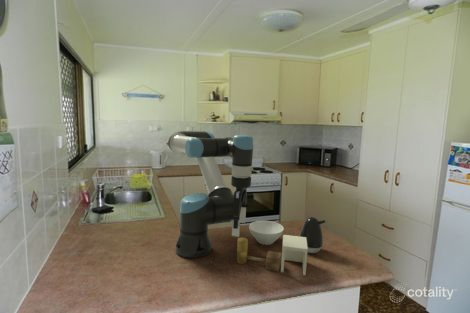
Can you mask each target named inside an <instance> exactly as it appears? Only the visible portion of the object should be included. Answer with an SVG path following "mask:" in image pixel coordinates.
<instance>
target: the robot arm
mask: <svg viewBox="0 0 470 313" xmlns="http://www.w3.org/2000/svg"><path fill="white" fill-rule="evenodd" d="M167 145H168V148H169V149H170V150H171V151H172V152H174V153H176V154H181V155H182V154H184V155H185V154H186V156H187V157H188V158H190V159H191V158H192V159H194V160H196V161H197V162H198V166H199V169H200V171H201V174H202V175H201V176H202V177H203V180H204V183H205V184H204V185H205V186H206V189H207V193H208V194H206V193H203V192H201V193H199V192H197V193H191V194H187V195H186V196H184V197H183V198H181V200H180V203H179V204H180V206H179V233H178V237H177V240H176V242H175V246H174V247H175V249H174V250H175V251H174V252H175V253H176V254H177V256H180V257H182V258H187V259H197V258H202V257H205V256H207V255H208V254H210V253H211V251H212V242H211V241H212V240H211V238H210V236H209V229H208V228H209V225H215V224H216V225H217V224H218V225H219V224H223V223H231V222H232V224H231V225H232V226H231V237H238V238H240V230H241V227H240V226H241V224H245V223H246V215H247V208H248V207H249V204H248V196H247V195H248V194H247V191H248V190H247V188H250V187H251V185H252V177H251V176H252V171H254V167H253V154H254V137H253V136H252V135H246V134H235V135H234V136H233V137H231V136H230V137H227V136H226V137H223V138H222V137H215V136H214V134H213V133H212V132H210V131H205V130H202V131H191V130H190V131H188V130H187V131H185V130H181V131H177V132H175V133H173V134H172V135H170V136H169V138H168V144H167ZM223 157H224V158H226V157H227V158H229V157H230V158H232V162H231V182H230V184H231V186H232V187H234V188H236V189H235V191H234V192H233V191H232V189H231V188H230V187H229V186H226V183H225V181H224V178H223V175H222V173H221V170H220V168H219V166H218V165H219V164H218V162H217V160H216V158H223Z"/></svg>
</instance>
